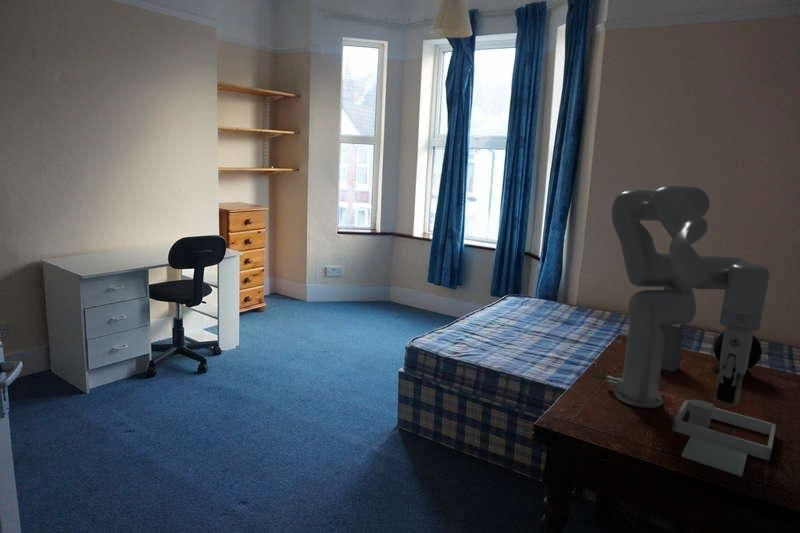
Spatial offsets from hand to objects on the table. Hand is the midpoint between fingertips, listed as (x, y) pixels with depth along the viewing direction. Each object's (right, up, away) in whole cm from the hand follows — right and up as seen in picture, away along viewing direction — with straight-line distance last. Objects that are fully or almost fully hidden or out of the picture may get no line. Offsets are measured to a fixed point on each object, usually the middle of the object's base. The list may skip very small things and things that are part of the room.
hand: (726, 396), depth 124 cm
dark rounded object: (+34, -6, +54) cm, 64 cm away
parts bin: (+8, -13, +14) cm, 21 cm away
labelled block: (0, -1, 0) cm, 1 cm away
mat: (-1, -14, +3) cm, 15 cm away
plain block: (+3, -12, +17) cm, 21 cm away
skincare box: (+13, -4, +57) cm, 59 cm away
